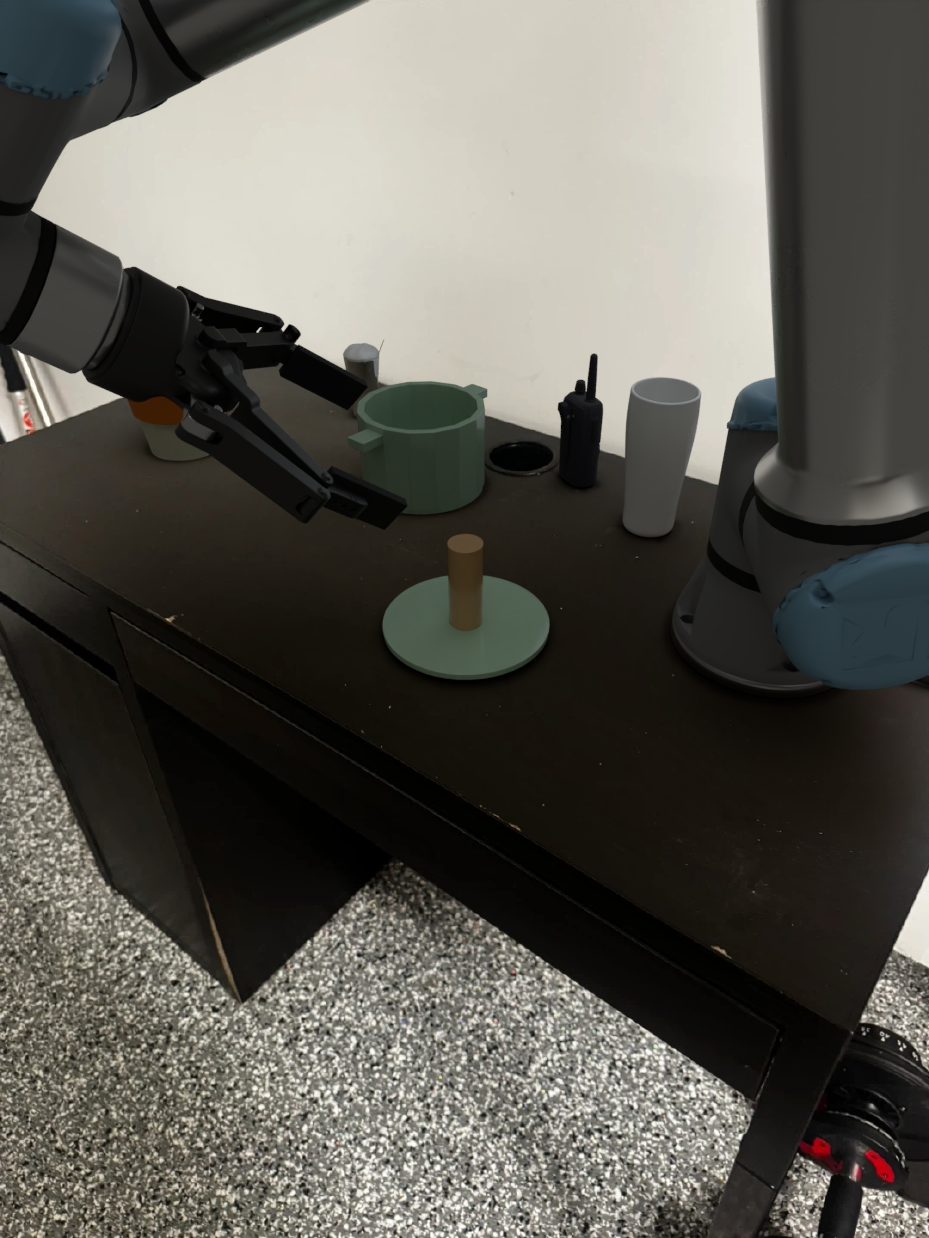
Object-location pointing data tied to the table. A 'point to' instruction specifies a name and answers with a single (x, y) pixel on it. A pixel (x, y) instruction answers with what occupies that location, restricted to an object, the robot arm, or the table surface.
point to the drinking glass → (657, 452)
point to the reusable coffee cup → (164, 429)
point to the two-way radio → (581, 431)
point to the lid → (465, 620)
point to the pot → (424, 443)
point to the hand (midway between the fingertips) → (375, 452)
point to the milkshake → (363, 366)
